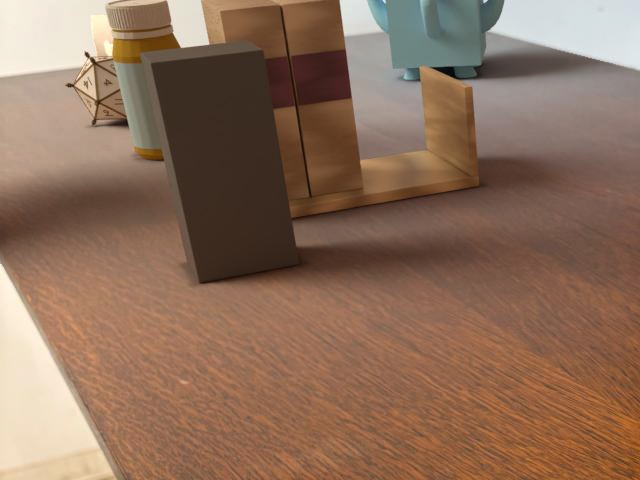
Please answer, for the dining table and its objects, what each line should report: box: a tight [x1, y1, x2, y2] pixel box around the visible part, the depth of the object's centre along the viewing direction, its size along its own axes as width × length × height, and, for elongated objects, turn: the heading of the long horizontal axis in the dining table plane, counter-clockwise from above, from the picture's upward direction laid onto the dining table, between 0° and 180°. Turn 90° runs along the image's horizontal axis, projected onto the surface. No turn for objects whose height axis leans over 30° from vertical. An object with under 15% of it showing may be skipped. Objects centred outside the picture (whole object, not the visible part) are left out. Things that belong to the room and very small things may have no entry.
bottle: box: [104, 0, 182, 161], centre depth 115 cm, size 7×7×15 cm
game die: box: [64, 50, 127, 127], centre depth 130 cm, size 9×8×10 cm
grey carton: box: [140, 40, 300, 284], centre depth 83 cm, size 5×8×16 cm, turn 115°
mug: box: [90, 13, 114, 57], centre depth 157 cm, size 12×9×8 cm
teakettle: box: [366, 0, 505, 81], centre depth 148 cm, size 19×19×15 cm
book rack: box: [200, 0, 480, 219], centre depth 100 cm, size 22×12×17 cm, turn 115°
